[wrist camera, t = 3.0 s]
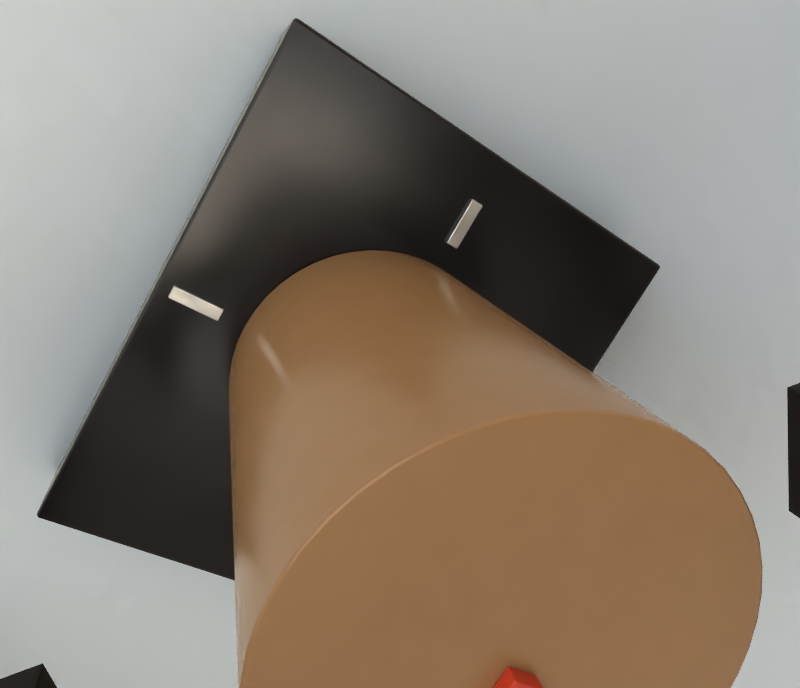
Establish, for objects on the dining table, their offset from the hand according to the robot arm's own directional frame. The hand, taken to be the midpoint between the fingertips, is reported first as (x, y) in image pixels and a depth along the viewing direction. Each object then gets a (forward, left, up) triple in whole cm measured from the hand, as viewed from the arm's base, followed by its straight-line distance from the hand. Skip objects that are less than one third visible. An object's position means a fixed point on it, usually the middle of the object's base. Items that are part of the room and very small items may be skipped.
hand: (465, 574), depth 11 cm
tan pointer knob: (0, 0, -9) cm, 9 cm away
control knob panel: (0, 0, -12) cm, 12 cm away
